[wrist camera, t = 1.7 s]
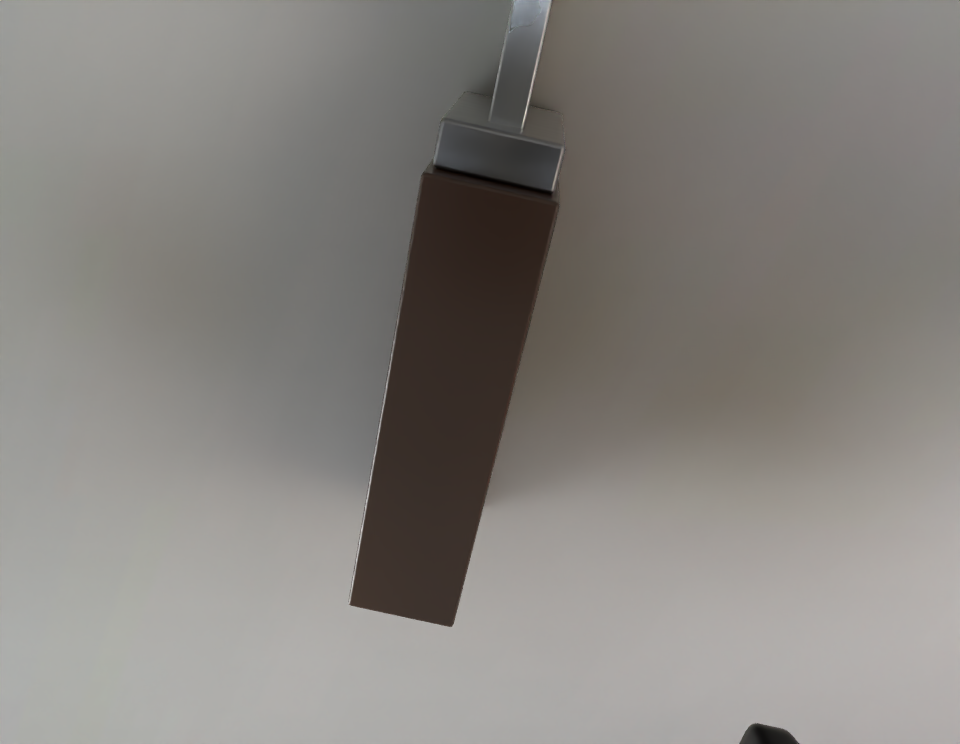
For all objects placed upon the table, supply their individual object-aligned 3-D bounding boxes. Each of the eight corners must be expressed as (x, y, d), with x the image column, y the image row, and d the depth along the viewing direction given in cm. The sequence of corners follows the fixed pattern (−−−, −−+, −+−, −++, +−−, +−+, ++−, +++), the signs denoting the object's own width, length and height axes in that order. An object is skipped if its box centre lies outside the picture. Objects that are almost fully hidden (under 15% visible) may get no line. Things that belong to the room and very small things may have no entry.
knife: (384, 493, 20) (347, 606, 16) (630, -846, 10) (671, -1298, 7) (470, 512, 20) (452, 628, 16) (794, -805, 10) (926, -1234, 7)
